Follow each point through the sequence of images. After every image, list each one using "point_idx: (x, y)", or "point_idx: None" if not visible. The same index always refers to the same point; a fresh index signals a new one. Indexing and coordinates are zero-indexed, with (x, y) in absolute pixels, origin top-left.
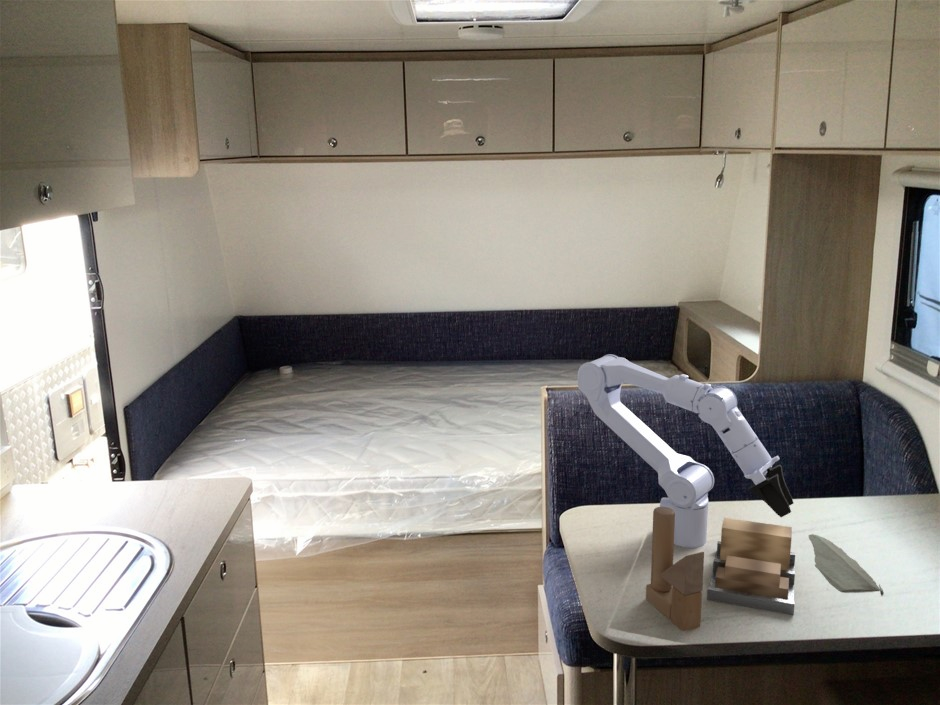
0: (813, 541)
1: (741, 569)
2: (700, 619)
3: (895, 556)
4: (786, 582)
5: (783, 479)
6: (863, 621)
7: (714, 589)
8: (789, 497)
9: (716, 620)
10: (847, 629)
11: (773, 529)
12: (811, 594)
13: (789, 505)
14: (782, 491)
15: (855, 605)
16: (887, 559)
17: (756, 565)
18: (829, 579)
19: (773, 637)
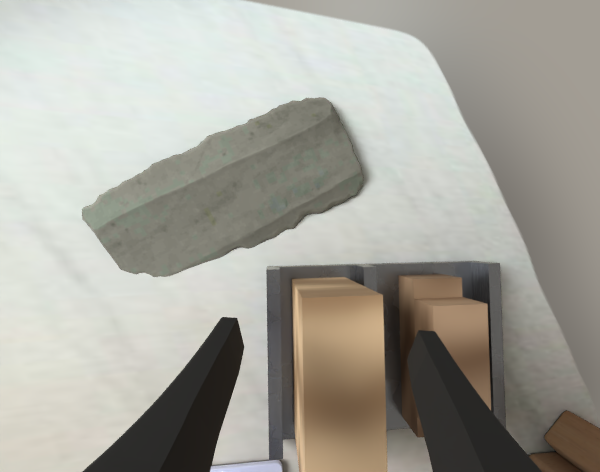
0: (136, 227)
1: (488, 394)
2: (589, 423)
3: (134, 52)
4: (434, 283)
5: (165, 448)
6: (436, 144)
7: (502, 422)
8: (225, 346)
9: (525, 387)
10: (471, 172)
11: (343, 354)
12: (374, 230)
13: (239, 330)
14: (210, 397)
15: (385, 153)
16: (157, 71)
17: (462, 362)
18: (324, 195)
19: (539, 290)
